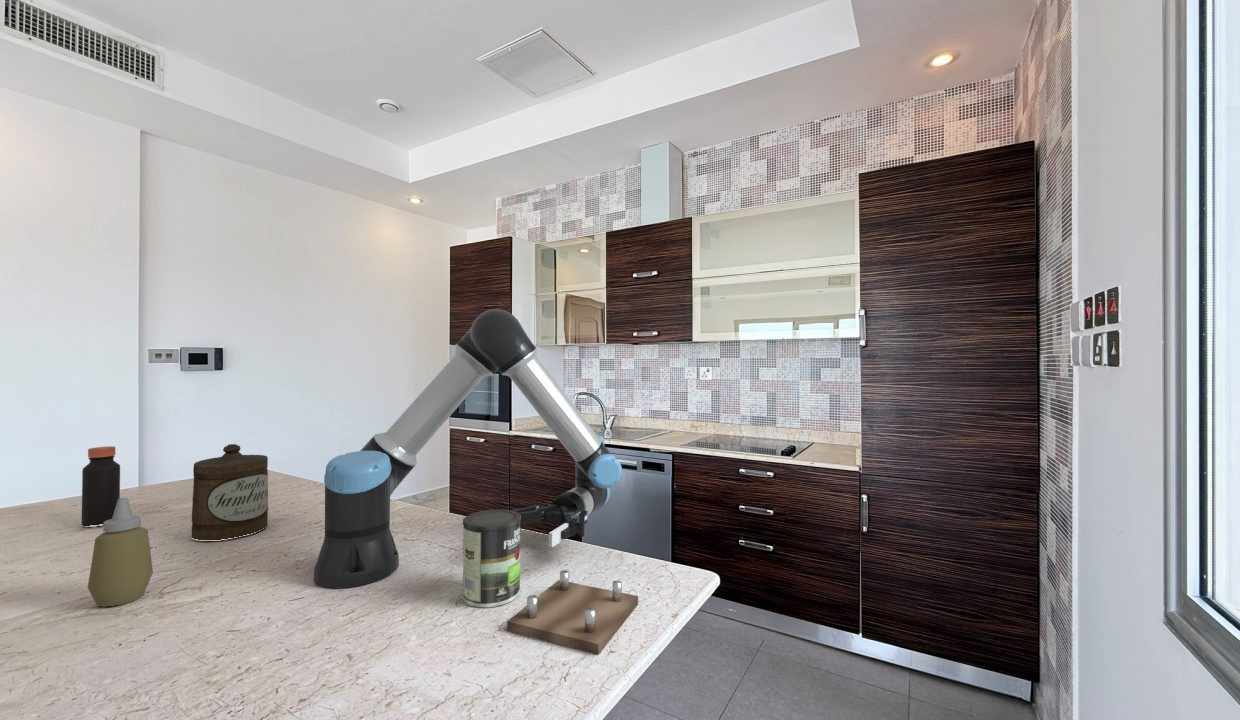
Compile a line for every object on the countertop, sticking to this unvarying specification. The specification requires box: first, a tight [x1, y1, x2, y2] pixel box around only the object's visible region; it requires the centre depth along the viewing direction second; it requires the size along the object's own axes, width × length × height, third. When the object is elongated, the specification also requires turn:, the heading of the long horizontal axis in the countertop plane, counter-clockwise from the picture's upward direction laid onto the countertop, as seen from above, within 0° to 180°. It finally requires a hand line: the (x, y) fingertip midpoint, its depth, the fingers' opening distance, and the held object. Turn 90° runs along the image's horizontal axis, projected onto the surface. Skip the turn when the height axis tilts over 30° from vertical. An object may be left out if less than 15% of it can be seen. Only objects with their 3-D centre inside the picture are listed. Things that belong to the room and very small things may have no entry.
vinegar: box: [81, 446, 121, 526], centre depth 127 cm, size 7×7×20 cm
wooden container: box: [191, 443, 269, 540], centre depth 121 cm, size 15×15×22 cm
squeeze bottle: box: [87, 497, 154, 608], centre depth 86 cm, size 8×8×18 cm
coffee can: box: [462, 509, 521, 609], centre depth 89 cm, size 10×10×14 cm
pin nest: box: [506, 569, 639, 655], centre depth 81 cm, size 16×16×4 cm
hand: (520, 535), depth 97 cm, fingers open, 13 cm apart
